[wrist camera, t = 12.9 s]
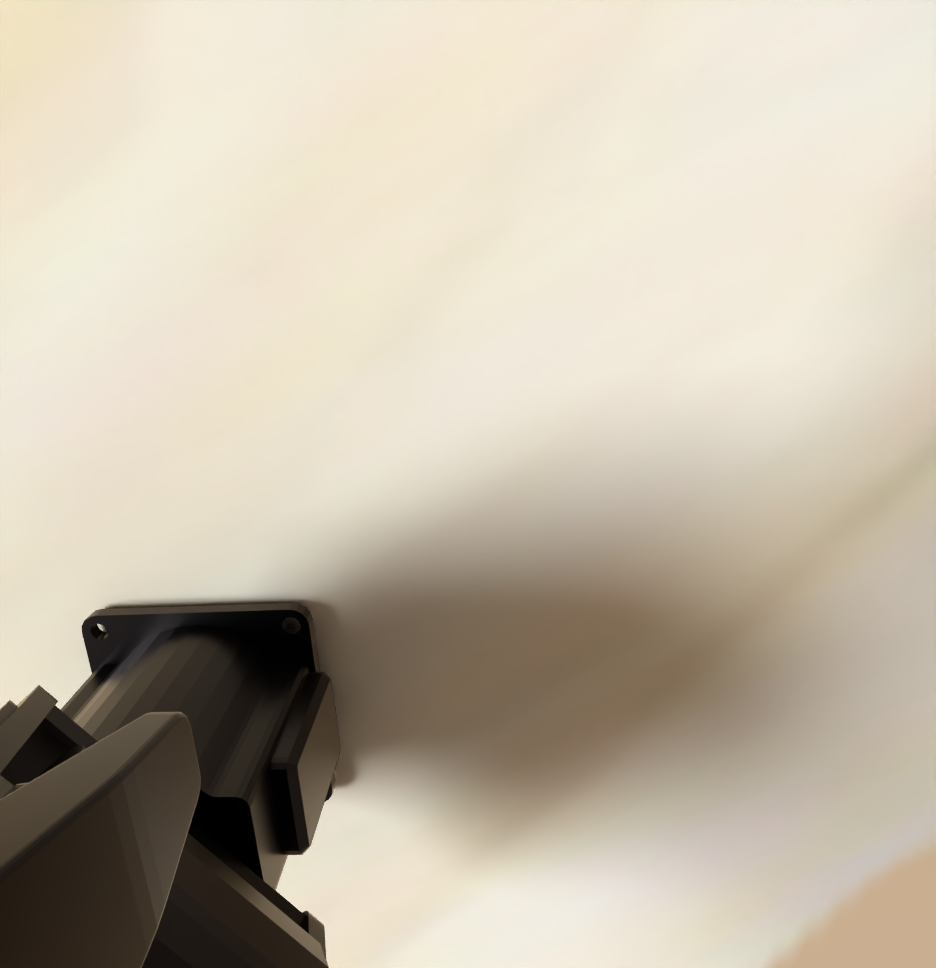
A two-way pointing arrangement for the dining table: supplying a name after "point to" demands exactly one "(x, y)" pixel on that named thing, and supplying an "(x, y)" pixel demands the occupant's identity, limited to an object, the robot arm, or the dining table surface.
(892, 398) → the dining table surface
